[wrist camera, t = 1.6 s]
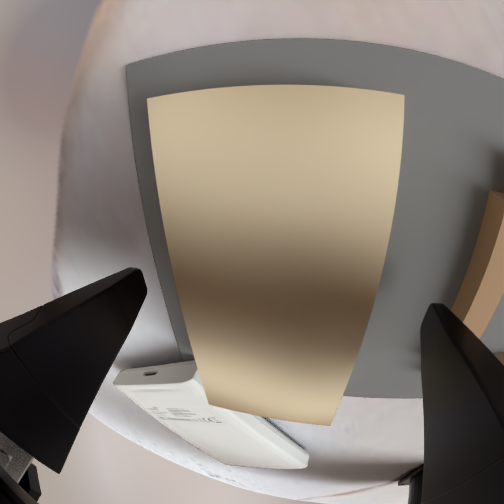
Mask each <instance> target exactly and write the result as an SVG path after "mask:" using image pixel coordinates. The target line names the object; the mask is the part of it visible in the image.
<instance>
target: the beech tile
mask: <svg viewBox="0 0 504 504" xmlns="http://www.w3.org/2000/svg"><path fill="white" fill-rule="evenodd" d="M404 99H405V95H401V94H396V93H389V92H383V91H375V90H367V89H359V88H349V87H336V86H320V85H252V86H235V87H223V88H213V89H204V90H196V91H188V92H181V93H175V94H169V95H163V96H158V97H152V98H147V106H148V117H149V127H150V136H151V145H152V153H153V161H154V169H155V176H156V183H157V189H158V196H159V202H160V208H161V214H162V219H163V225H164V230H165V236H166V241H167V246H168V251H169V256H170V261H171V266H172V270H173V275H174V279H175V284H176V288H177V293H178V297H179V301H180V305H181V309H182V313H183V317H184V321H185V325H186V329H187V333H188V336H189V340H190V344H191V347H192V351H193V354H194V358H195V361H196V365H197V368H198V372H199V375H200V378H201V381H202V385H203V388H204V391H205V394H206V397H207V400H208V403H209V405H213V406H216V407H220V408H225V409H229V410H233V411H237V412H242V413H247V414H252V415H257V416H262V417H267V418H273V419H279V420H285V421H292V422H299V423H307V424H316V425H326V426H330V425H331V422H332V420H333V418H334V415H335V413H336V411H337V409H338V406H339V404H340V401H341V399H342V396H343V394H344V391H345V389H346V386H347V384H348V381H349V379H350V376H351V373H352V371H353V368H354V365H355V362H356V359H357V357H358V354H359V351H360V348H361V345H362V342H363V339H364V335H365V332H366V329H367V326H368V323H369V319H370V316H371V312H372V309H373V305H374V302H375V298H376V294H377V290H378V287H379V283H380V278H381V274H382V270H383V266H384V261H385V257H386V252H387V247H388V243H389V238H390V232H391V227H392V221H393V215H394V209H395V203H396V196H397V189H398V181H399V173H400V164H401V154H402V142H403V126H404Z"/></svg>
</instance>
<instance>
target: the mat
mask: <svg viewBox="0 0 504 504" xmlns="http://www.w3.org/2000/svg"><path fill="white" fill-rule="evenodd" d="M126 73H127V89H128V102H129V113H130V123H131V132H132V140H133V148H134V155H135V162H136V169H137V175H138V182H139V188H140V193H141V199H142V204H143V210H144V215H145V220H146V225H147V230H148V234H149V239H150V244H151V248H152V252H153V257H154V261H155V265H156V269H157V273H158V277H159V281H160V285H161V289H162V293H163V296H164V300H165V304H166V307H167V311H168V314H169V318H170V321H171V324H172V328H173V331H174V334H175V337H176V341H177V344H178V347H179V350H180V353H181V356H182V359H183V362H185V361H192V360H195V358H194V354H193V351H192V347H191V344H190V340H189V336H188V333H187V329H186V325H185V321H184V317H183V313H182V309H181V305H180V301H179V297H178V293H177V288H176V284H175V279H174V275H173V270H172V266H171V261H170V256H169V251H168V246H167V241H166V236H165V230H164V225H163V219H162V214H161V208H160V202H159V196H158V189H157V183H156V176H155V169H154V161H153V153H152V145H151V136H150V127H149V117H148V106H147V98H152V97H158V96H163V95H169V94H175V93H181V92H188V91H196V90H204V89H213V88H223V87H235V86H252V85H320V86H336V87H349V88H359V89H367V90H375V91H383V92H389V93H396V94H401V95H405V99H404V126H403V142H402V154H401V164H400V173H399V181H398V189H397V196H396V203H395V209H394V215H393V221H392V227H391V232H390V238H389V243H388V247H387V252H386V257H385V261H384V266H383V270H382V274H381V278H380V283H379V287H378V290H377V294H376V298H375V302H374V305H373V309H372V312H371V316H370V319H369V323H368V326H367V329H366V332H365V335H364V339H363V342H362V345H361V348H360V351H359V354H358V357H357V359H356V362H355V365H354V368H353V371H352V373H351V376H350V379H349V381H348V384H347V386H346V389H345V391H344V394H343V396H352V397H368V398H423V394H422V382H421V341H420V327H421V323H422V321H423V319H424V316H425V314H426V311H427V309H428V307H429V305H430V304H431V303H442V304H444V305H445V306H446V307H447V308H448V309H449V310H451V311H452V312H453V313H454V314H455V315H456V316H457V317H458V318H459V319H460V320H461V321H462V322H463V323H464V324H465V325H466V326H467V327H468V328H469V329H470V330H471V331H472V332H473V333H474V334H475V335H476V336H477V337H478V338H479V339H480V340H481V341H482V342H483V343H484V344H485V345H486V347H487V348H488V349H489V350H490V351H491V352H492V353H493V354H494V355H495V356H496V357H497V358H498V359H499V361H500V362H501V363H502V364H503V365H504V79H502V78H500V77H497V76H495V75H492V74H490V73H487V72H485V71H482V70H479V69H477V68H474V67H471V66H468V65H465V64H462V63H459V62H456V61H453V60H449V59H446V58H442V57H439V56H435V55H431V54H427V53H423V52H418V51H414V50H409V49H404V48H399V47H393V46H388V45H381V44H374V43H366V42H358V41H347V40H334V39H308V38H291V39H264V40H251V41H240V42H231V43H223V44H216V45H209V46H203V47H197V48H192V49H187V50H182V51H177V52H173V53H168V54H164V55H160V56H156V57H152V58H148V59H145V60H141V61H138V62H134V63H131V64H128V65H126Z"/></svg>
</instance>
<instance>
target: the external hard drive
mask: <svg viewBox="0 0 504 504" xmlns="http://www.w3.org/2000/svg"><path fill="white" fill-rule="evenodd" d="M113 384H114V386H116V387H117V388H118V389H119V390H120V391H121V392H122V393H124V394H125V395H126V396H127V397H128V398H130V399H131V400H132V401H133V402H134V403H136V404H137V405H138V406H139V407H141V408H142V409H143V410H144V411H146V412H147V413H148V414H150V415H151V416H152V417H153V418H155V419H156V420H157V421H159V422H160V423H161V424H163V425H164V426H166V427H167V428H168V429H170V430H171V431H173V432H174V433H175V434H177V435H178V436H180V437H181V438H183V439H184V440H186V441H187V442H189V443H190V444H192V445H194V446H195V447H197V448H198V449H200V450H202V451H203V452H205V453H207V454H208V455H210V456H212V457H213V458H215V459H217V460H218V461H220V462H222V463H224V464H226V465H234V466H244V467H256V468H273V469H302V468H306V467H307V465H308V460H309V453H308V452H307V451H305V450H304V449H303V448H301V447H300V446H299V445H297V444H296V443H295V442H293V441H292V440H291V439H289V438H288V437H287V436H285V435H284V434H283V433H282V432H281V431H279V430H278V429H277V428H275V427H274V426H273V425H272V424H270V423H269V422H268V421H267V420H265V419H264V418H263V417H262V416H257V415H252V414H247V413H242V412H237V411H233V410H229V409H225V408H220V407H216V406H213V405H209V403H208V400H207V397H206V394H205V391H204V388H203V385H202V381H201V378H200V375H199V372H198V368H197V365H196V361H195V360H192V361H185V362H179V363H171V364H164V365H158V366H149V367H141V368H132V369H125V370H122V371H121V372H120V373H119V374H118V376H117V377H116V379H115V380H114V382H113Z"/></svg>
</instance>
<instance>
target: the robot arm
mask: <svg viewBox="0 0 504 504" xmlns="http://www.w3.org/2000/svg"><path fill="white" fill-rule="evenodd" d="M146 295H147V287H146V283H145V280H144V276H143V273H142V271H141V270H140V269H138V268H132V267H130V268H127V269H124V270H122V271H120V272H117V273H115V274H113V275H110V276H108V277H105V278H103V279H101V280H98V281H96V282H94V283H91V284H89V285H87V286H85V287H82V288H80V289H78V290H75V291H73V292H71V293H69V294H66V295H64V296H62V297H60V298H57V299H55V300H53V301H51V302H48V303H46V304H44V305H43V306H40V307H37V308H35V309H33V310H31V311H28V312H26V313H24V314H22V315H19V316H17V317H14V318H12V319H10V320H7V321H4V322H2V323H0V504H39V503H37V501H38V499H39V497H40V496H41V490H40V485H39V480H38V474H37V469H36V466H35V465H34V464H32V461H33V459H34V458H35V459H37V460H38V461H39V462H41V463H42V464H44V465H45V466H47V467H48V468H50V469H52V470H53V471H55V472H56V473H58V474H60V472H61V470H62V468H63V466H64V463H65V461H66V459H67V456H68V454H69V452H70V450H71V447H72V445H73V443H74V441H75V438H76V436H77V434H78V432H79V429H80V427H81V425H82V423H83V421H84V419H85V417H86V415H87V413H88V410H89V408H90V406H91V404H92V402H93V400H94V398H95V396H96V394H97V392H98V390H99V388H100V387H101V385H102V383H103V381H104V379H105V377H106V375H107V373H108V371H109V369H110V367H111V366H112V364H113V362H114V360H115V358H116V356H117V354H118V353H119V351H120V349H121V347H122V345H123V344H124V342H125V340H126V338H127V336H128V334H129V333H130V331H131V329H132V326H133V324H134V322H135V320H136V317H137V315H138V313H139V311H140V309H141V306H142V304H143V302H144V300H145V298H146ZM420 341H421V382H422V394H423V411H424V466H421V467H420V468H418V469H417V470H415V471H414V472H412V473H411V474H409V475H408V476H406V477H405V478H403V479H402V480H400V481H399V482H398V485H399V486H401V485H409V499H408V504H504V365H503V364H502V363H501V362H500V361H499V359H498V358H497V357H496V356H495V355H494V354H493V353H492V352H491V351H490V350H489V349H488V348H487V347H486V345H485V344H484V343H483V342H482V341H481V340H480V339H479V338H478V337H477V336H476V335H475V334H474V333H473V332H472V331H471V330H470V329H469V328H468V327H467V326H466V325H465V324H464V323H463V322H462V321H461V320H460V319H459V318H458V317H457V316H456V315H455V314H454V313H453V312H452V311H451V310H449V309H448V308H447V307H446V306H445V305H444V304H442V303H431V304H430V305H429V307H428V309H427V311H426V314H425V316H424V319H423V321H422V323H421V327H420Z"/></svg>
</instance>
